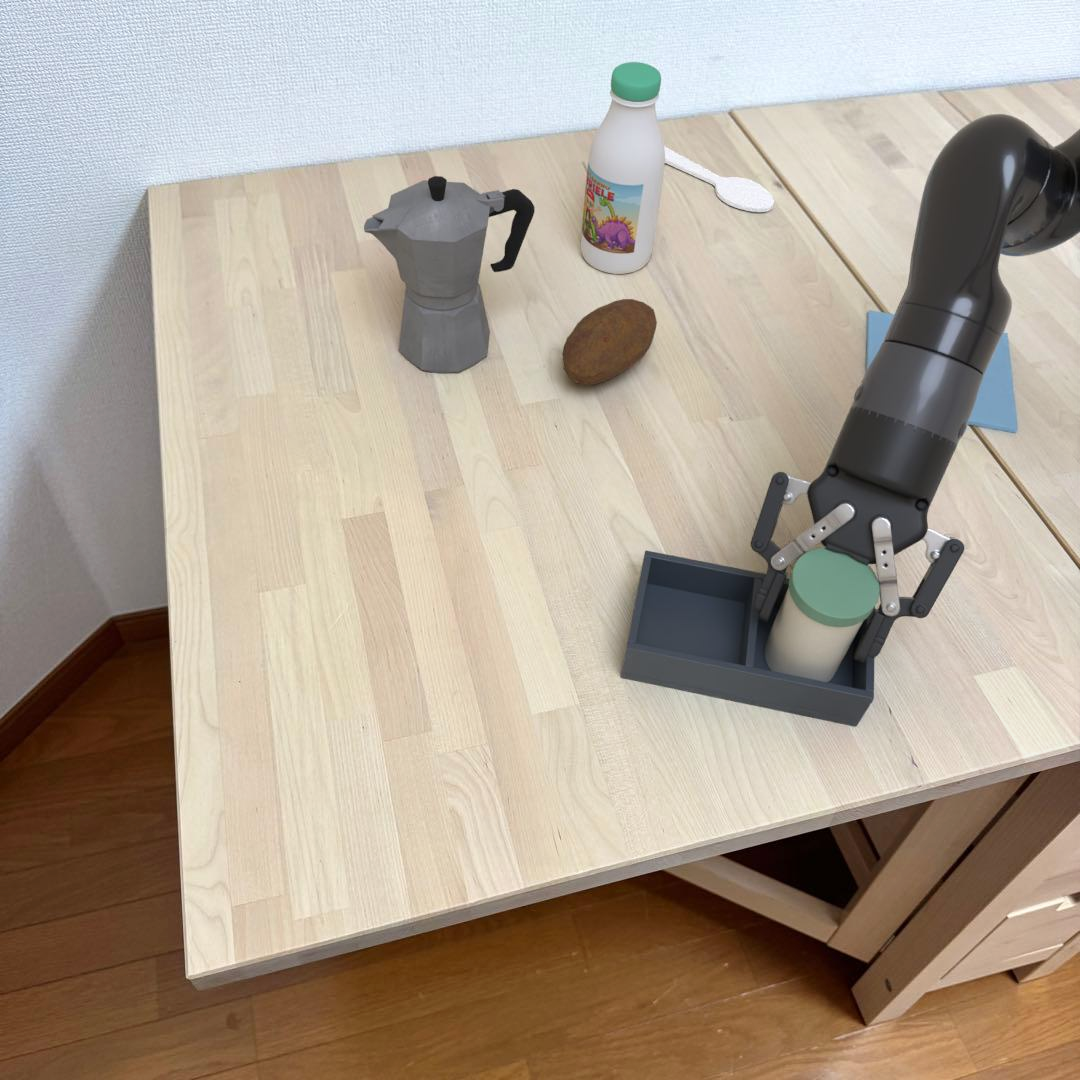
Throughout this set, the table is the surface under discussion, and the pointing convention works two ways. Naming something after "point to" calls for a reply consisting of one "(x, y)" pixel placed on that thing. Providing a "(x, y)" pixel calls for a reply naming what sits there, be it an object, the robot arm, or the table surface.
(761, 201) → the spoon
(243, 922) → the table surface
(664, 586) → the divided tray
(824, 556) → the container
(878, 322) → the mat
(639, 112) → the milk bottle
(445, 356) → the coffeepot
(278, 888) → the table surface
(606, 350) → the potato
